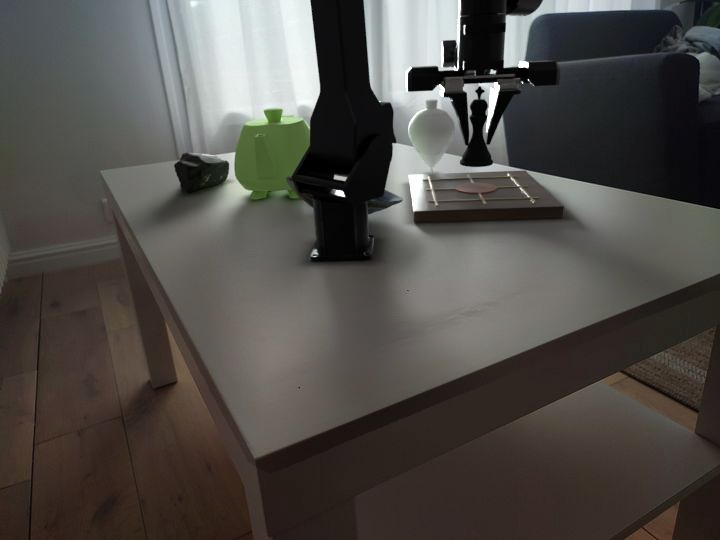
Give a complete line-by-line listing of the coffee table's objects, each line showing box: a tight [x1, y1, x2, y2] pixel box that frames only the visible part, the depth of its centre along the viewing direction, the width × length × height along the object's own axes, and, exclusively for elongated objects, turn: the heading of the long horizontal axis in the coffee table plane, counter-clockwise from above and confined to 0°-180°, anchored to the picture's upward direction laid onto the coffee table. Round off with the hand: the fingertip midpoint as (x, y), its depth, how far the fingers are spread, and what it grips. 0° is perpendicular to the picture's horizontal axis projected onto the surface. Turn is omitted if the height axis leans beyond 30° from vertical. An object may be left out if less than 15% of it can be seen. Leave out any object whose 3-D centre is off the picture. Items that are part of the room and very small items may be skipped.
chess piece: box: [459, 85, 494, 168], centre depth 70 cm, size 4×4×10 cm
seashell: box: [286, 176, 404, 215], centre depth 68 cm, size 15×12×5 cm
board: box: [408, 170, 565, 224], centre depth 74 cm, size 20×18×2 cm
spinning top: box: [407, 98, 456, 174], centre depth 88 cm, size 8×8×12 cm
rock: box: [173, 152, 230, 194], centre depth 89 cm, size 10×9×6 cm
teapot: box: [233, 107, 310, 200], centre depth 81 cm, size 20×13×13 cm
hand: (477, 144), depth 71 cm, fingers closed on chess piece, 2 cm apart
